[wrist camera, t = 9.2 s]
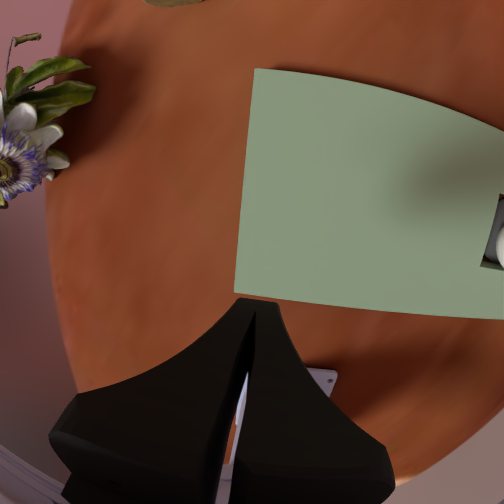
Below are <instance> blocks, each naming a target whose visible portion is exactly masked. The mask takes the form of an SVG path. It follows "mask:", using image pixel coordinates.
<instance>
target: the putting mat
mask: <svg viewBox="0 0 504 504" xmlns="http://www.w3.org/2000/svg"><path fill="white" fill-rule="evenodd" d="M500 193H501V194H504V132H503V131H501V130H499V129H497V128H495V127H492V126H490V125H488V124H486V123H483V122H481V121H479V120H476V119H474V118H472V117H469V116H467V115H464V114H462V113H459V112H456V111H454V110H451V109H448V108H446V107H443V106H440V105H437V104H434V103H431V102H428V101H425V100H422V99H419V98H415V97H412V96H409V95H405V94H402V93H398V92H395V91H391V90H387V89H383V88H379V87H375V86H371V85H366V84H362V83H357V82H352V81H347V80H342V79H337V78H331V77H325V76H319V75H313V74H306V73H298V72H290V71H281V70H271V69H258V68H255V72H254V82H253V91H252V101H251V110H250V120H249V130H248V140H247V150H246V161H245V171H244V182H243V193H242V203H241V215H240V226H239V237H238V249H237V261H236V273H235V285H234V292H236V293H243V294H250V295H257V296H264V297H271V298H278V299H286V300H293V301H301V302H309V303H317V304H326V305H334V306H343V307H352V308H361V309H371V310H381V311H391V312H402V313H413V314H425V315H438V316H452V317H467V318H484V319H504V268H503V267H502V265H501V264H496V263H500V262H499V260H498V257H497V253H496V241H497V236H498V234H499V232H500V230H501V229H502V227H503V226H504V198H503V199H500V200H498V199H499V195H500ZM484 254H485V256H486V257H487V258H488V259H489V260H491V261H492V262H495V263H491V262H486V261H482V258H483V255H484Z"/></svg>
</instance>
